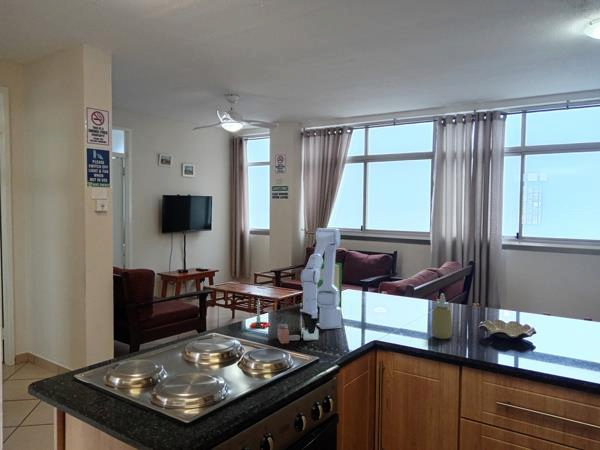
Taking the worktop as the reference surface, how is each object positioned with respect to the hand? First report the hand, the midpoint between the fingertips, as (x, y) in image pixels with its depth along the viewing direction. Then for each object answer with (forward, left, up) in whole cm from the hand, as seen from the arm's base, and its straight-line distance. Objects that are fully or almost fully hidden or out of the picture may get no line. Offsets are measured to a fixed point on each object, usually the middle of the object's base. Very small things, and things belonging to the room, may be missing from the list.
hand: (309, 331), depth 174 cm
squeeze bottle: (-53, +10, -3) cm, 55 cm away
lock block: (0, 0, -3) cm, 3 cm away
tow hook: (+17, -24, -3) cm, 29 cm away
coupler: (+10, 0, -3) cm, 10 cm away
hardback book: (-24, -56, -3) cm, 61 cm away
